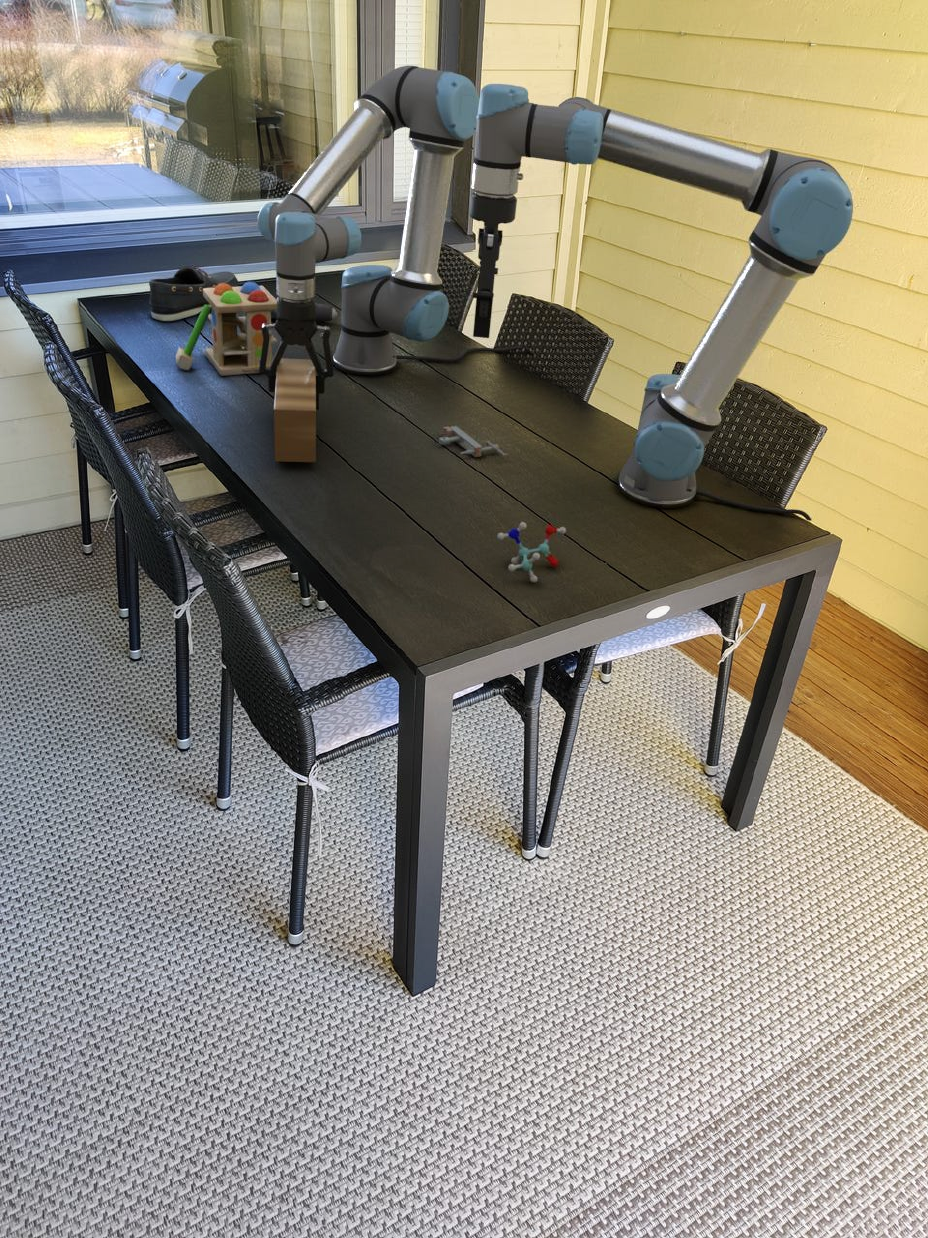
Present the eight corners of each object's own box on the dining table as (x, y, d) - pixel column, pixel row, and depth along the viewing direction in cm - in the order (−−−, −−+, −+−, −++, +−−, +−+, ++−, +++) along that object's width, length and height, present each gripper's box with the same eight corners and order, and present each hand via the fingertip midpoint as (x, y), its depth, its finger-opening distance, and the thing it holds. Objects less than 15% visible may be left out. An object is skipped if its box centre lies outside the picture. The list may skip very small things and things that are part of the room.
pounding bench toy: (183, 379, 220) (176, 299, 210) (169, 357, 231) (162, 280, 221) (282, 371, 230) (280, 294, 220) (264, 350, 240) (262, 276, 230)
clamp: (430, 428, 204) (472, 422, 209) (430, 438, 205) (471, 431, 210) (466, 458, 194) (509, 450, 198) (465, 468, 195) (508, 460, 199)
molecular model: (561, 577, 156) (542, 517, 155) (507, 592, 160) (488, 534, 159) (577, 563, 167) (559, 507, 166) (526, 578, 171) (508, 523, 169)
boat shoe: (257, 300, 274) (255, 261, 268) (168, 323, 250) (164, 281, 244) (224, 291, 279) (221, 254, 274) (133, 313, 256) (128, 272, 250)
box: (278, 405, 209) (277, 357, 203) (315, 407, 210) (315, 359, 204) (274, 461, 186) (273, 409, 180) (315, 462, 187) (316, 410, 182)
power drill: (344, 304, 276) (335, 327, 259) (277, 298, 275) (264, 321, 258) (344, 285, 273) (335, 306, 256) (277, 279, 272) (264, 300, 255)
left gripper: (241, 300, 189) (245, 412, 201) (348, 305, 192) (346, 415, 204) (243, 289, 195) (247, 398, 207) (347, 294, 198) (345, 401, 211)
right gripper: (518, 212, 148) (503, 350, 160) (517, 180, 168) (503, 304, 180) (468, 207, 148) (457, 345, 159) (473, 176, 168) (463, 301, 180)
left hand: (296, 406), depth 206 cm, fingers closed on box, 8 cm apart
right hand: (482, 324), depth 170 cm, fingers open, 13 cm apart
